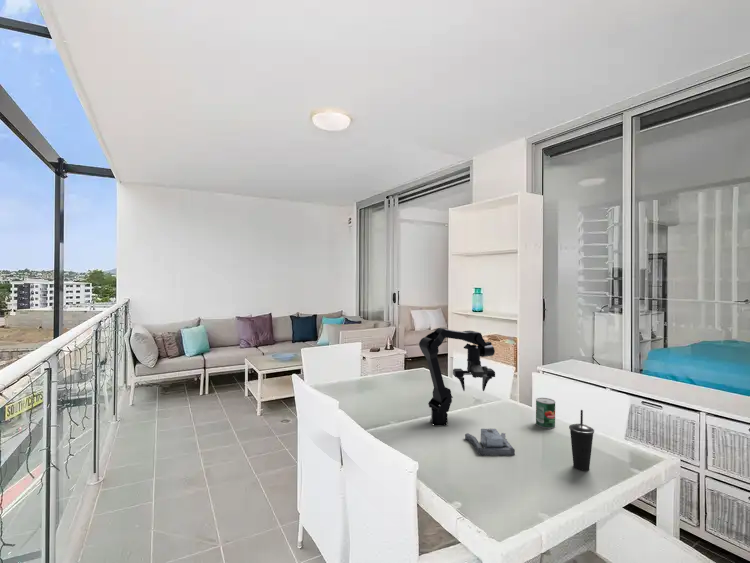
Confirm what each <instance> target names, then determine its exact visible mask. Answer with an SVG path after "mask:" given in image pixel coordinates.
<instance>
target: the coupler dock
mask: <svg viewBox="0 0 750 563" xmlns="http://www.w3.org/2000/svg"><path fill="white" fill-rule="evenodd" d="M500 435H501V437H502V438H503V448H484V447H483V445H482V444H480V443H481V442H480V441H479V440H478V439H477V437H476V436H474V435H472V434H470V433H469V432H467V433H465V434H464V440H466V441H468V442H470V443H471V444H472V445H473V446H474V449H475V450H476V452H477V453H478V455H479V456H515V453H516V452H515V450H516V449H515V447H513V446H512V445H511V444H510V442H509V441H508V440H507V439H506V433H504V432H501V434H500Z"/></svg>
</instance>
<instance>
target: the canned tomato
mask: <svg viewBox="0 0 750 563" xmlns="http://www.w3.org/2000/svg"><path fill="white" fill-rule="evenodd" d="M535 424H536V426H537V427H539V428H543V429H554V428H556V401H555V400H554V399H552V398H548V397H537V398H535Z"/></svg>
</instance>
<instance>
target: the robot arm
mask: <svg viewBox="0 0 750 563" xmlns="http://www.w3.org/2000/svg"><path fill="white" fill-rule="evenodd" d="M445 339H453V340H458V341H459V340H460V341H461V340H462V341H464V342H466V344H465V345H464V346H463V349H465V350H467V359H466V361H467V368H466V370H464V369H462V368H453V369H452V375H453V377H454V378H456V379H458V381H459V382H460V385H461V388H462V390H463V392H465V391H466V390H465V389H466V388H465V387H466V386H465V377H464V376H468V375H469V376H472V378H475V379H476V378H482V385H481V386H482V387H481V388H482V391H483V392H484V391H485V390H486V387H487V384H488V382H489V381H490V380H492V379H493V378H496V372H495V370H494V369H493V368H491V367H490V368H488V366H487V365H483V366H482V362H481V358H485V357H493V356H494V355H495V351H496V350H495V347H494V346H493V344H492V342H490V341H486V340H485V339H484V338H483V335H482V333H481V332H479V331H474V330H463V331H460V330H459V331H458V330H453V329H446V328H441V327H438V328H436V329H435V330H434V331H432V332H430V333H428V334H427V335H426V336H425V337H422V338H421V339H420V341H419V342H418V345H419V349H420V350H421V353H422V355H423V356H424V357H425V358H426V362H427V365H428V369H429V373H430V377H431V378H430V379H431V381H432V386H433V389H432V397H431V399H430V400H429V401H428V402H427V403H428V404H427V405H428V408H431V409H430V411H431V414H430V417H431V418H430V422H431V421H432V423H431V425H432V424H434V425H447V426H448V419H449V418H448V416H449V415H448V412H449V411H450V408H451V404H452V403H453V398H454V397H453V396H452V391H451V389H450V388H449V387H446V386H445V383H444V378H443V375H442V370H441V366H440V363H439V359H438V355H439V350H440V349H439V347H441V345H442V344H443V342H444V340H445Z"/></svg>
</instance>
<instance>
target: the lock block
mask: <svg viewBox="0 0 750 563" xmlns="http://www.w3.org/2000/svg"><path fill="white" fill-rule="evenodd" d="M480 443H481V446H482V448H504V446H503V438H502V437H501V434H500V432H499V431H498V430H497V429H496V428H480Z"/></svg>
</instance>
